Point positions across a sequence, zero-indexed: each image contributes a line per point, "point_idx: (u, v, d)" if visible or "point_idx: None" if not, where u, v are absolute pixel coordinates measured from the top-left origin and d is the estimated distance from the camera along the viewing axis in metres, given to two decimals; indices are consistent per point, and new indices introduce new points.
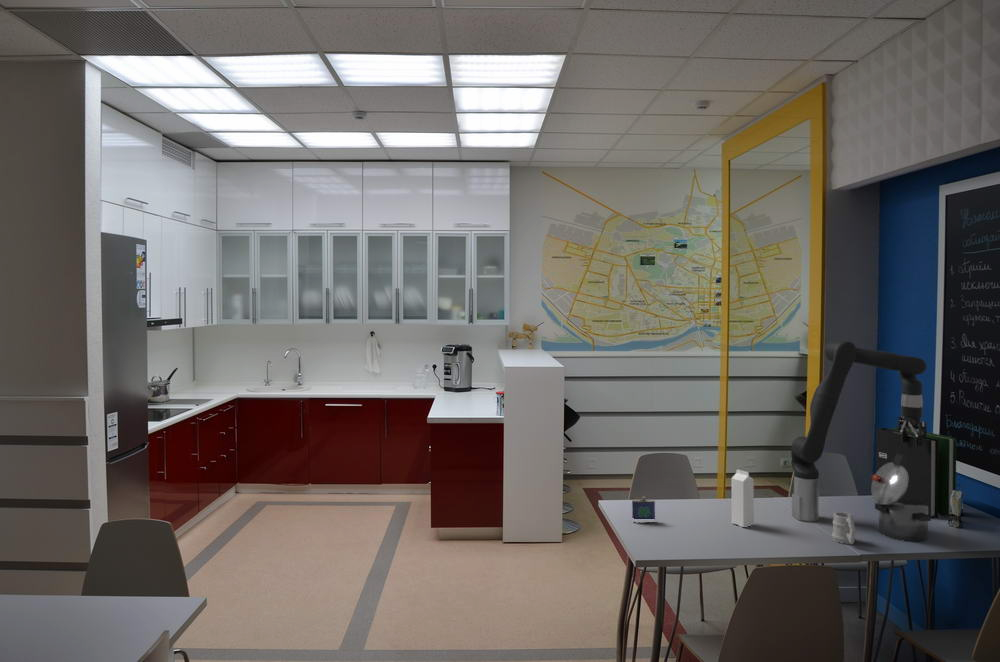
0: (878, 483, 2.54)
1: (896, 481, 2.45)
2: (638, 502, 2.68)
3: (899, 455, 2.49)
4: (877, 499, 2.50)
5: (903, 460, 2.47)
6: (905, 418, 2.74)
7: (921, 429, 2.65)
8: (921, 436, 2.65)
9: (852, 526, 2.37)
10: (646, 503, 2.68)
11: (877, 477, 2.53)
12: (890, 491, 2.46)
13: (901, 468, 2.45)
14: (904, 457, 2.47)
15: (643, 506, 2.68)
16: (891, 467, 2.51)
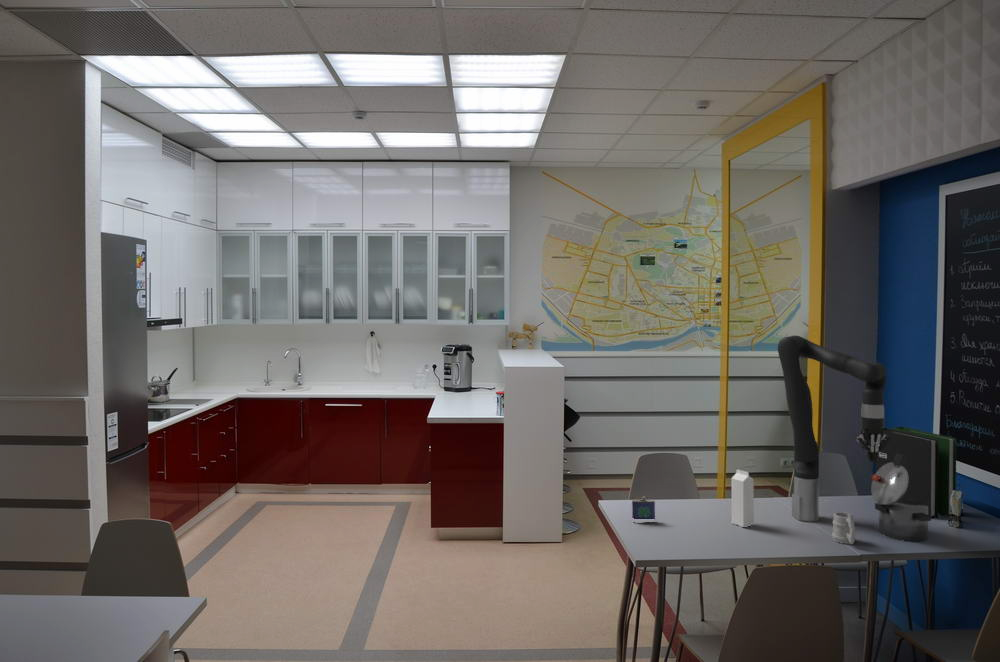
0: (878, 483, 2.54)
1: (896, 481, 2.45)
2: (638, 502, 2.68)
3: (899, 455, 2.49)
4: (877, 499, 2.50)
5: (903, 460, 2.47)
6: (866, 431, 2.47)
7: None
8: None
9: (852, 526, 2.37)
10: (646, 503, 2.68)
11: (877, 477, 2.53)
12: (890, 491, 2.46)
13: (901, 468, 2.45)
14: (904, 457, 2.47)
15: (643, 506, 2.68)
16: (891, 467, 2.51)
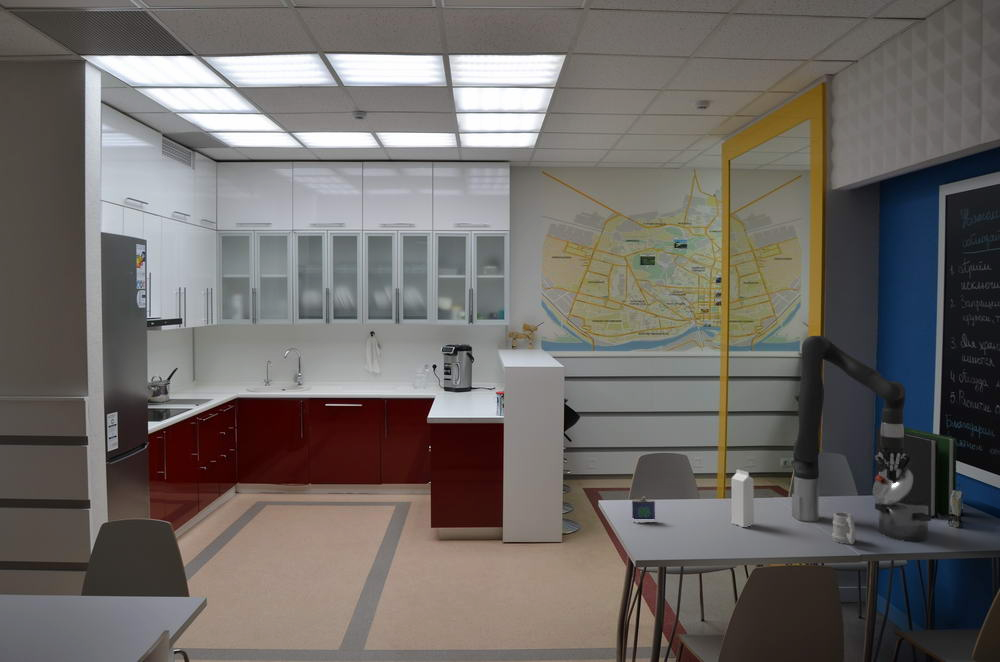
0: (881, 484, 2.54)
1: (900, 483, 2.45)
2: (638, 502, 2.68)
3: None
4: (878, 499, 2.50)
5: (910, 463, 2.47)
6: (886, 450, 2.47)
7: None
8: None
9: (852, 526, 2.37)
10: (646, 503, 2.68)
11: (881, 477, 2.54)
12: (892, 491, 2.46)
13: (907, 470, 2.46)
14: (911, 460, 2.47)
15: (643, 506, 2.68)
16: None
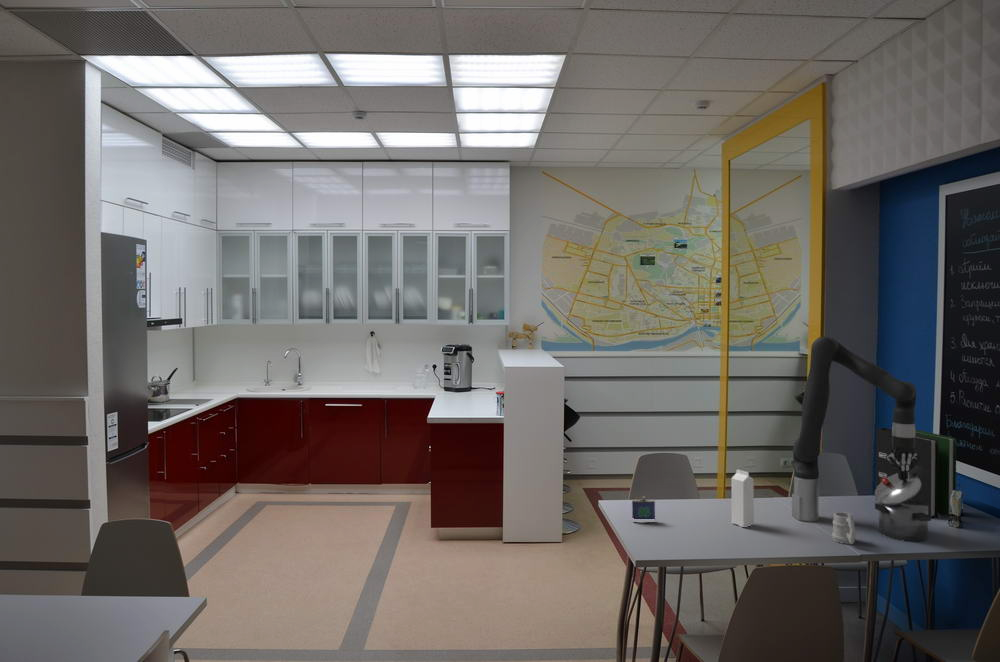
0: (885, 486, 2.54)
1: (907, 487, 2.45)
2: (638, 502, 2.68)
3: (918, 467, 2.49)
4: (879, 498, 2.51)
5: (921, 472, 2.48)
6: (897, 450, 2.48)
7: None
8: None
9: (852, 526, 2.37)
10: (646, 503, 2.68)
11: (887, 480, 2.54)
12: (896, 493, 2.46)
13: (916, 477, 2.46)
14: (923, 470, 2.48)
15: (643, 506, 2.68)
16: None
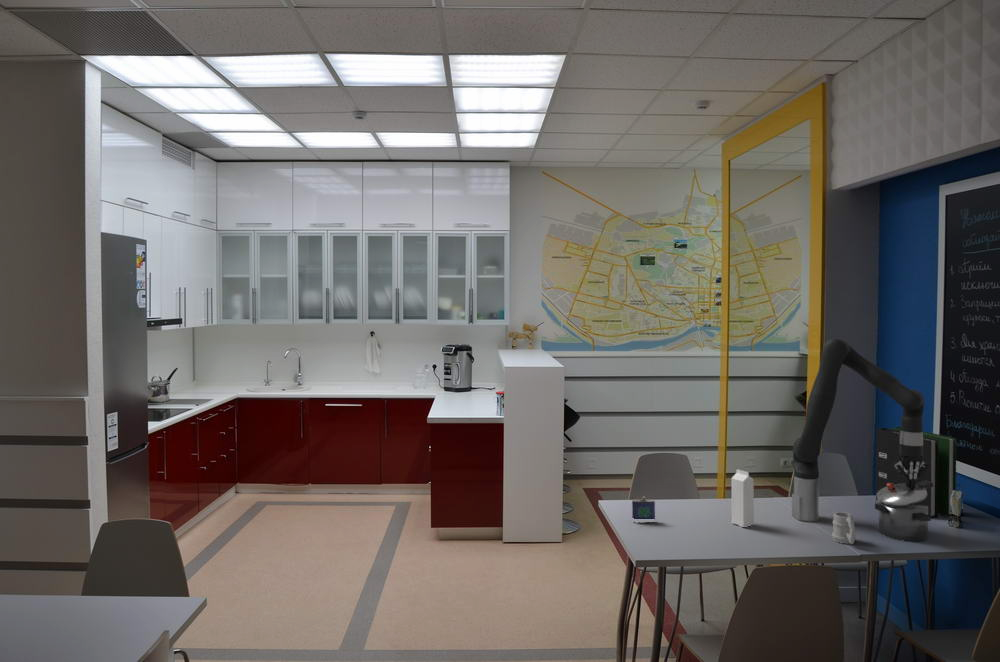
0: (889, 490, 2.54)
1: (912, 494, 2.45)
2: (638, 502, 2.68)
3: (928, 481, 2.50)
4: (880, 498, 2.51)
5: (929, 486, 2.48)
6: (905, 458, 2.48)
7: None
8: (920, 476, 2.49)
9: (852, 526, 2.37)
10: (646, 503, 2.68)
11: (893, 485, 2.54)
12: (900, 497, 2.46)
13: (924, 488, 2.46)
14: (931, 485, 2.48)
15: (643, 506, 2.68)
16: None
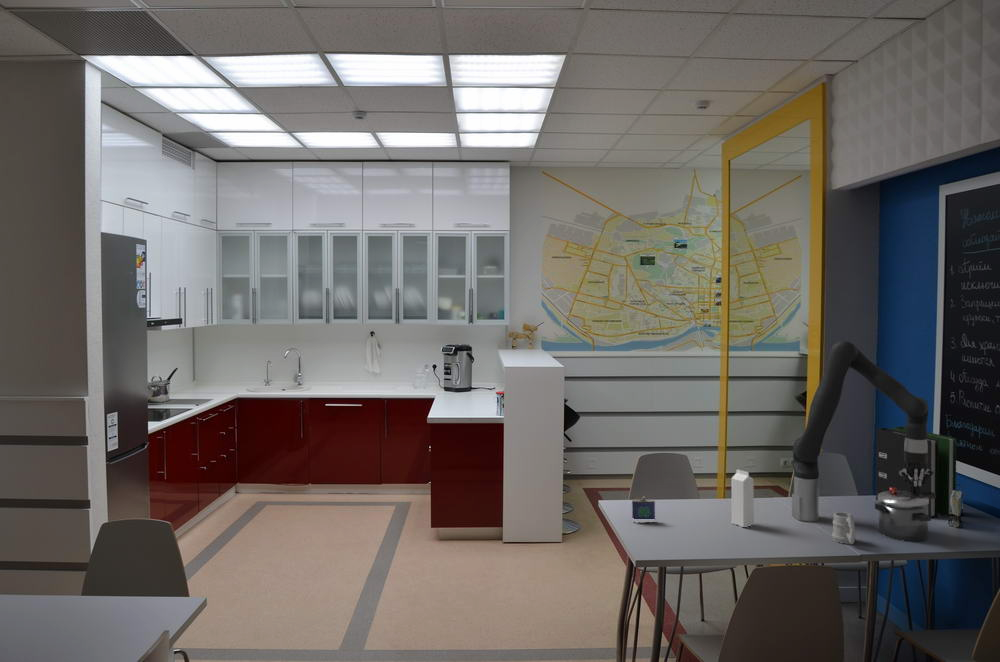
0: (891, 494, 2.54)
1: (914, 499, 2.45)
2: (638, 502, 2.68)
3: (931, 492, 2.50)
4: (882, 498, 2.51)
5: (931, 497, 2.48)
6: (910, 465, 2.48)
7: None
8: (924, 483, 2.49)
9: (852, 526, 2.37)
10: (646, 503, 2.68)
11: (895, 490, 2.54)
12: (902, 500, 2.46)
13: (926, 497, 2.47)
14: (934, 496, 2.49)
15: (643, 506, 2.68)
16: None
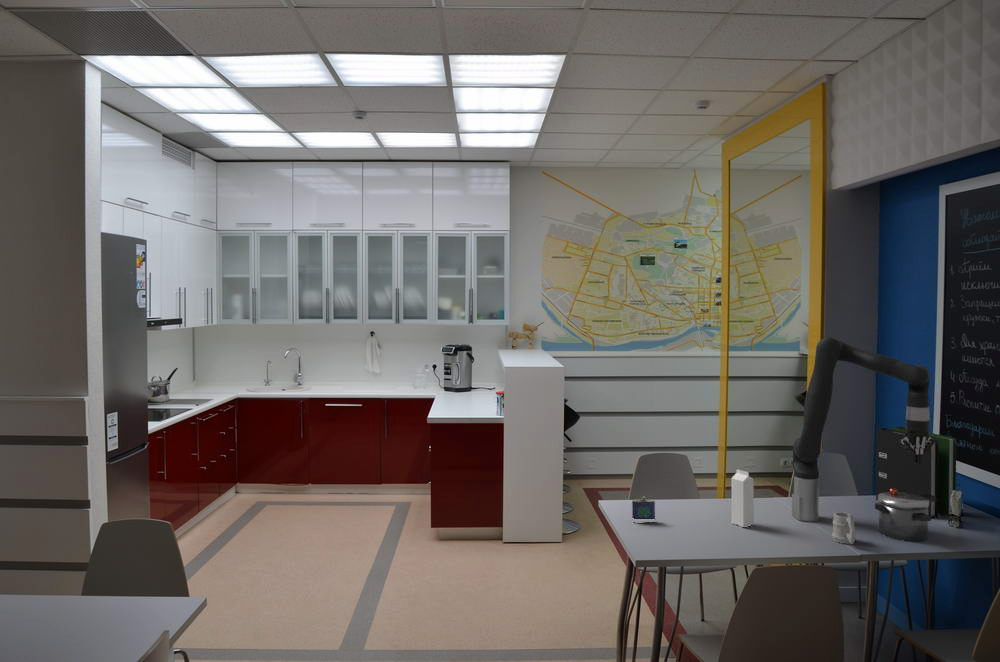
0: (891, 495, 2.54)
1: (915, 501, 2.46)
2: (638, 502, 2.68)
3: (931, 495, 2.50)
4: (882, 498, 2.51)
5: (932, 500, 2.49)
6: (912, 433, 2.48)
7: None
8: None
9: (852, 526, 2.37)
10: (646, 503, 2.68)
11: (896, 491, 2.54)
12: (902, 501, 2.46)
13: (927, 500, 2.47)
14: (934, 499, 2.49)
15: (643, 506, 2.68)
16: (915, 496, 2.52)
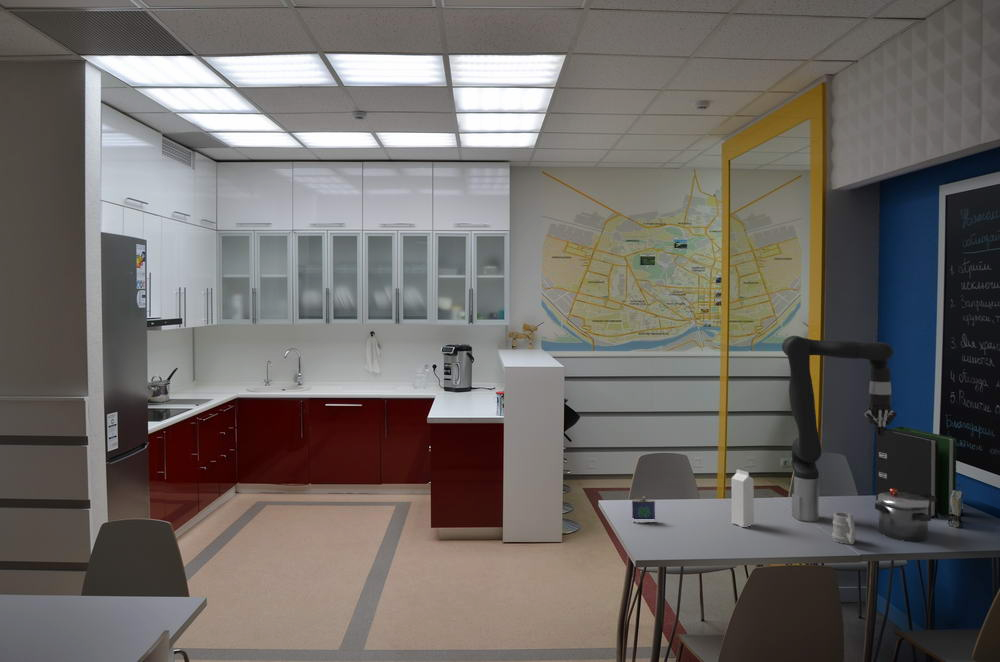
0: (891, 495, 2.54)
1: (915, 501, 2.46)
2: (638, 502, 2.68)
3: (931, 495, 2.50)
4: (882, 498, 2.51)
5: (932, 500, 2.49)
6: (874, 407, 2.61)
7: None
8: (888, 424, 2.62)
9: (852, 526, 2.37)
10: (646, 503, 2.68)
11: (896, 491, 2.54)
12: (902, 501, 2.46)
13: (927, 500, 2.47)
14: (934, 499, 2.49)
15: (643, 506, 2.68)
16: (915, 496, 2.52)
